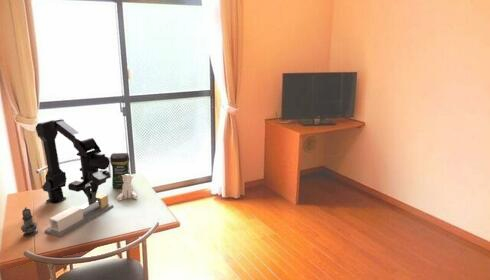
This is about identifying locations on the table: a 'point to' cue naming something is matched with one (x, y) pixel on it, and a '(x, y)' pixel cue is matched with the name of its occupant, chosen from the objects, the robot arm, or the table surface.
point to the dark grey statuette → (28, 224)
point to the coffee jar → (119, 168)
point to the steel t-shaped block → (91, 204)
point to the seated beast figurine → (127, 188)
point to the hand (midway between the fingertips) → (92, 197)
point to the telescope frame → (75, 217)
